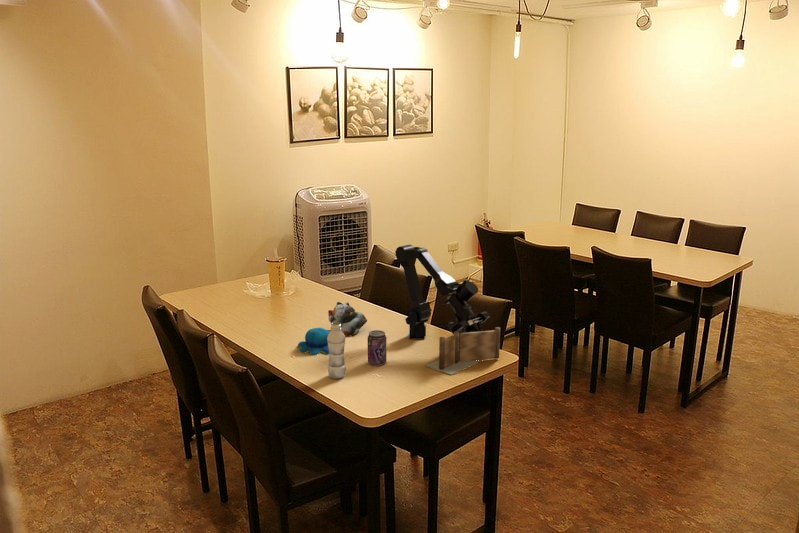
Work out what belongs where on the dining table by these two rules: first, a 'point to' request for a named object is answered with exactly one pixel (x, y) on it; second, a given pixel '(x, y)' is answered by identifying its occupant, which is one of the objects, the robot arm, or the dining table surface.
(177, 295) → the dining table surface
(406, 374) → the dining table surface
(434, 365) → the card
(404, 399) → the dining table surface
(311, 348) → the plush toy
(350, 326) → the grey stuffed animal
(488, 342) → the fence panel
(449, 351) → the fence fixed
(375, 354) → the beverage can
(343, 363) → the plastic bottle
